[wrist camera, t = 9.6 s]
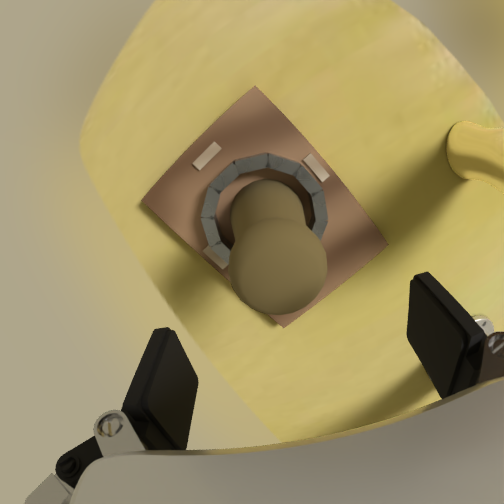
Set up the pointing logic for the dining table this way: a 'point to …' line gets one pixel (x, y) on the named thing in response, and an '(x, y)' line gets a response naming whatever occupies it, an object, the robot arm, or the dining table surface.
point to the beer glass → (477, 153)
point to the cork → (274, 250)
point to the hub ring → (251, 164)
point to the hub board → (251, 143)
